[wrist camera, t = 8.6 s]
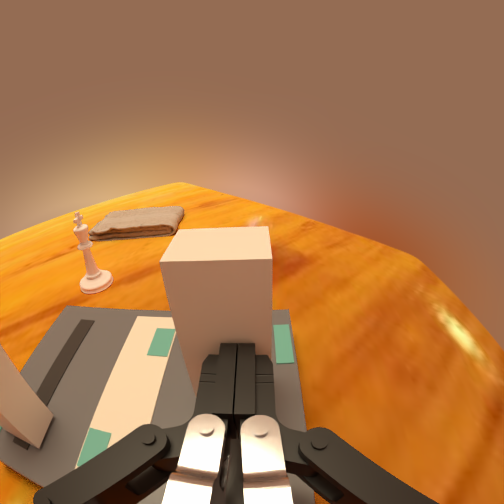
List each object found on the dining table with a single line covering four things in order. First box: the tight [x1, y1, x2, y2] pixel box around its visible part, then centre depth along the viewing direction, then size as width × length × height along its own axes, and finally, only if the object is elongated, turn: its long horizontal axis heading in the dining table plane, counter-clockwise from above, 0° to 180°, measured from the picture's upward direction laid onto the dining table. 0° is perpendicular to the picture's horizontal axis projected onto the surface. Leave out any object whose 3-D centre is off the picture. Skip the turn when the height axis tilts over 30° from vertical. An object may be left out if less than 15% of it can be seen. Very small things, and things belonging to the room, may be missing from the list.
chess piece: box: [73, 212, 113, 294], centre depth 31 cm, size 5×5×10 cm
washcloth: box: [88, 206, 184, 241], centre depth 51 cm, size 12×18×3 cm, turn 94°
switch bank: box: [0, 305, 315, 504], centre depth 16 cm, size 18×22×3 cm
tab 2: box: [160, 226, 272, 396], centre depth 13 cm, size 3×4×10 cm
